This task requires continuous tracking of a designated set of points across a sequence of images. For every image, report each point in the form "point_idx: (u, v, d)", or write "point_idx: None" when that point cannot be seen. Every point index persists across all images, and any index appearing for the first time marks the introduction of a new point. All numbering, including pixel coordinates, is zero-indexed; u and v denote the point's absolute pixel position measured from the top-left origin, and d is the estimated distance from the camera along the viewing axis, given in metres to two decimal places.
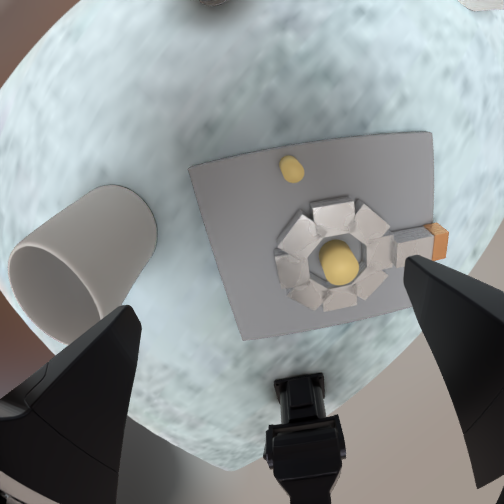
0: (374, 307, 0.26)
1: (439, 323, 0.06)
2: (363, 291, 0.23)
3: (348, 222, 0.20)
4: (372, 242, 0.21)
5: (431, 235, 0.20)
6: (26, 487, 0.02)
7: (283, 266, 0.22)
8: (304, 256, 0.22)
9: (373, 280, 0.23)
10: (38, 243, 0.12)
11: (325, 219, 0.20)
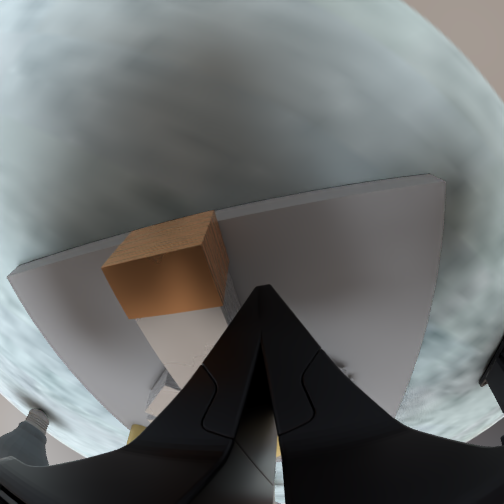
0: (402, 328, 0.10)
1: None
2: None
3: None
4: None
5: None
6: None
7: None
8: None
9: None
10: None
11: None
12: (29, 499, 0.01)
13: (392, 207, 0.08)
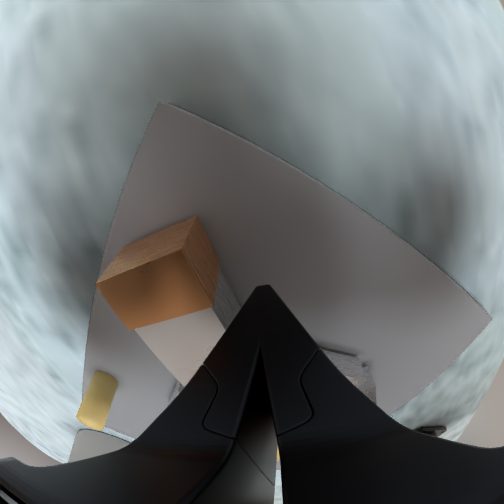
0: (412, 387, 0.13)
1: None
2: None
3: None
4: None
5: None
6: None
7: None
8: None
9: None
10: None
11: None
12: (30, 499, 0.01)
13: (473, 316, 0.10)
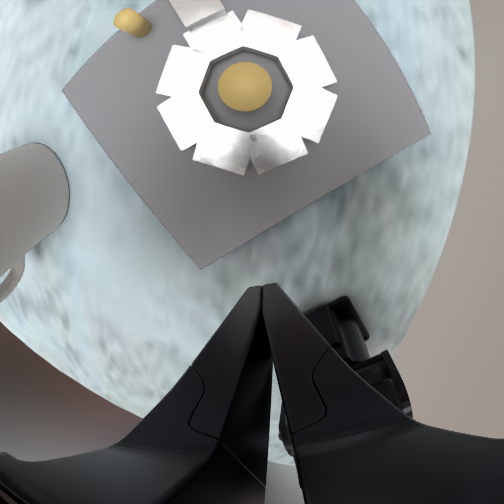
0: (359, 153, 0.16)
1: None
2: (285, 33, 0.12)
3: (185, 99, 0.14)
4: (202, 55, 0.12)
5: None
6: None
7: (269, 159, 0.15)
8: (248, 137, 0.15)
9: (262, 27, 0.12)
10: None
11: (189, 130, 0.15)
12: (19, 492, 0.01)
13: (413, 109, 0.15)
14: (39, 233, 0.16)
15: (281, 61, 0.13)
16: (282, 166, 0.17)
